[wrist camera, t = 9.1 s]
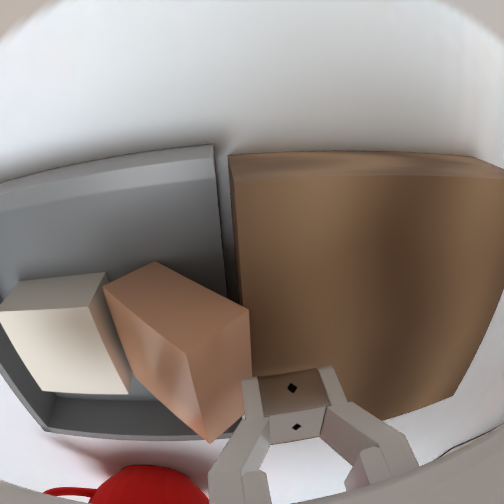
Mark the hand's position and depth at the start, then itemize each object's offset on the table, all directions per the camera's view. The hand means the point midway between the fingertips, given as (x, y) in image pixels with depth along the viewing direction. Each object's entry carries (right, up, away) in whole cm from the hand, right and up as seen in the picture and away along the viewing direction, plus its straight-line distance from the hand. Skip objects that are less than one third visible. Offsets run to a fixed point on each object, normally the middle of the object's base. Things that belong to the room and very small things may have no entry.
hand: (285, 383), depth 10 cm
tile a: (-9, 0, +1) cm, 9 cm away
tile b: (-3, +1, +2) cm, 4 cm away
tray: (-8, +1, +4) cm, 9 cm away
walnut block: (+4, +3, +5) cm, 7 cm away
